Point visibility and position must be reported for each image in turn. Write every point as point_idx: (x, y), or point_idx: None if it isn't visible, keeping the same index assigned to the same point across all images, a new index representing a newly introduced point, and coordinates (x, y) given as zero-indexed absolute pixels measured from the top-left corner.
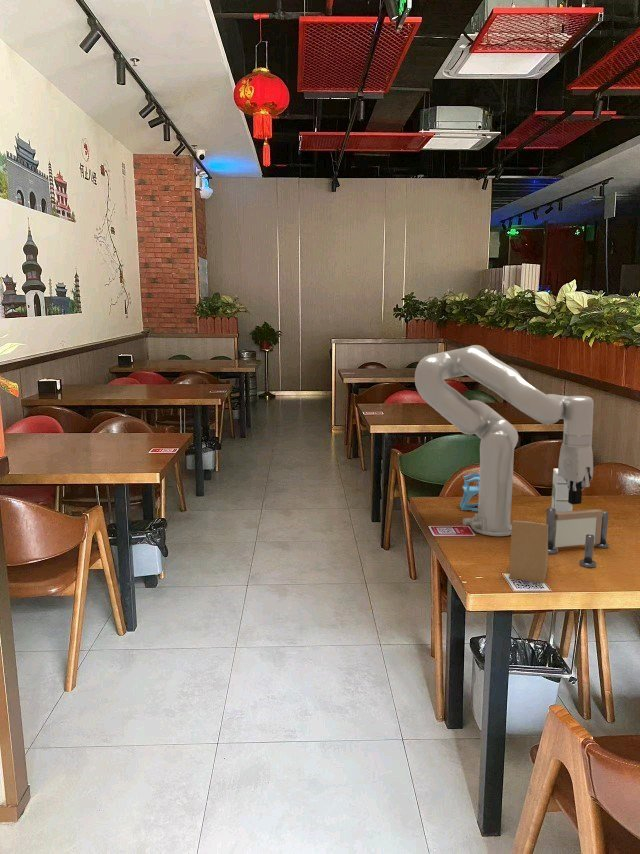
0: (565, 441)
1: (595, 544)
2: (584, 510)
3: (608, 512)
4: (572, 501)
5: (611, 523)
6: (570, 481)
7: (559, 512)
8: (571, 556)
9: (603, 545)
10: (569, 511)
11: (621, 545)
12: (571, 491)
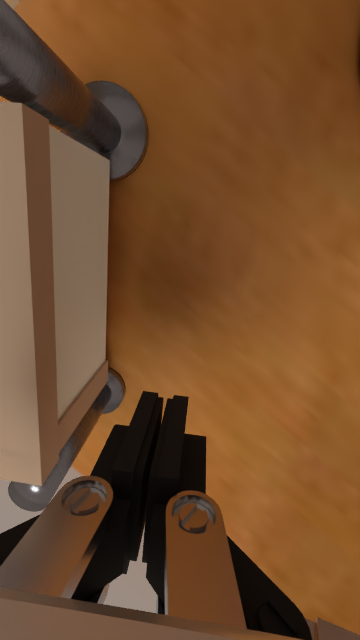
0: None
1: (108, 370)
2: (32, 389)
3: (14, 502)
4: (138, 406)
5: (283, 574)
6: (168, 613)
7: (16, 162)
8: None
9: None
10: (28, 269)
11: (91, 448)
12: (126, 465)
